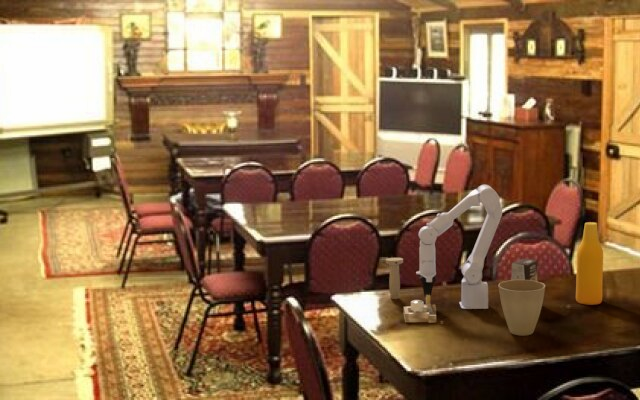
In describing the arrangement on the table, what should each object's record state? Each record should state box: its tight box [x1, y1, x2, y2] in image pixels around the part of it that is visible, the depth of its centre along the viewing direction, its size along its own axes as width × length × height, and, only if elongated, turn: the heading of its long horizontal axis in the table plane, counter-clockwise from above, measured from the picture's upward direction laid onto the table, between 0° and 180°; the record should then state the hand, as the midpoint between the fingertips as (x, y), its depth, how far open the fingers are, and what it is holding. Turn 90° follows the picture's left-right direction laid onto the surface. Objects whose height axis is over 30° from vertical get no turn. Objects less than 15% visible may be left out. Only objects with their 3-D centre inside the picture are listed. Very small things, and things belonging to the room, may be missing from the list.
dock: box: [403, 303, 437, 324], centre depth 325 cm, size 11×14×3 cm
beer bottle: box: [575, 221, 604, 306], centre depth 337 cm, size 9×9×29 cm
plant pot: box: [497, 279, 546, 336], centre depth 304 cm, size 15×15×16 cm
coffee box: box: [510, 258, 538, 281], centre depth 336 cm, size 9×6×16 cm
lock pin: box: [425, 293, 434, 315], centre depth 330 cm, size 1×11×5 cm, turn 178°
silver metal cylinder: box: [410, 299, 424, 313], centre depth 323 cm, size 5×5×6 cm
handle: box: [385, 257, 404, 300], centre depth 348 cm, size 5×6×15 cm
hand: (427, 296), depth 336 cm, fingers closed
